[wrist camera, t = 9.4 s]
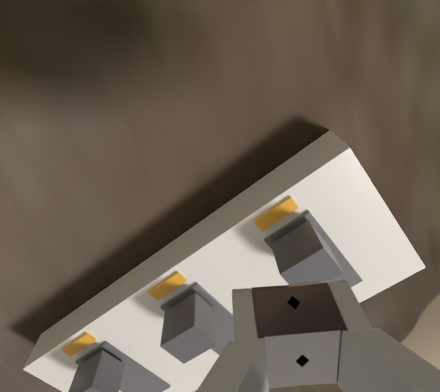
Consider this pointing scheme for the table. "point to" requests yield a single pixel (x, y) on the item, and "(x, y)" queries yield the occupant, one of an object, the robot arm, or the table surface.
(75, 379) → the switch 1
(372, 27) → the table surface
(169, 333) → the switch
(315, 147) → the switch panel
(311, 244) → the switch
